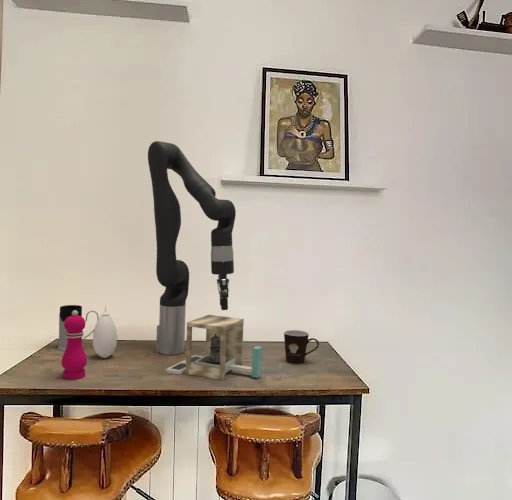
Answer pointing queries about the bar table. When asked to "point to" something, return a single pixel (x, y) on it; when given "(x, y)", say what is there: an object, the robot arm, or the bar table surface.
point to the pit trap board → (181, 366)
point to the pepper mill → (74, 348)
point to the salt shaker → (214, 351)
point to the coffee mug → (296, 346)
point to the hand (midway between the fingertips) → (223, 307)
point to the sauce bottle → (104, 336)
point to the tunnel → (229, 343)
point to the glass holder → (64, 313)
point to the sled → (231, 365)
